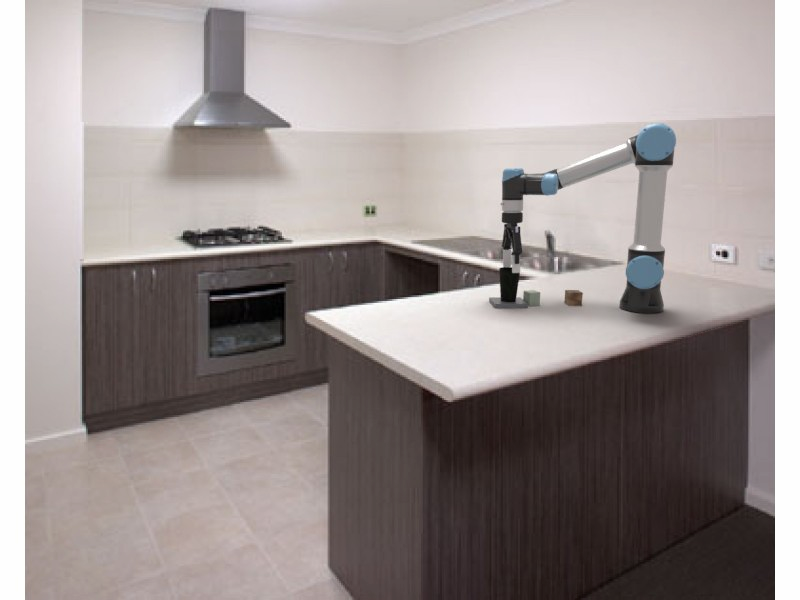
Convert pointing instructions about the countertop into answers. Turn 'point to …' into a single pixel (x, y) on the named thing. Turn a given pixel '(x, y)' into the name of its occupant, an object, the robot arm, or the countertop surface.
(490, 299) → the plate
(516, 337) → the countertop surface
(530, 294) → the sage block
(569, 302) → the walnut block
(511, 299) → the cup
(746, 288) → the countertop surface
